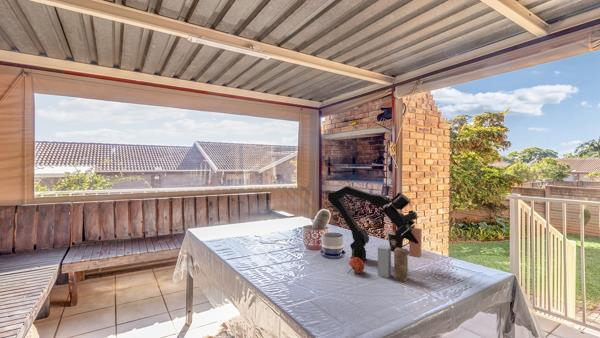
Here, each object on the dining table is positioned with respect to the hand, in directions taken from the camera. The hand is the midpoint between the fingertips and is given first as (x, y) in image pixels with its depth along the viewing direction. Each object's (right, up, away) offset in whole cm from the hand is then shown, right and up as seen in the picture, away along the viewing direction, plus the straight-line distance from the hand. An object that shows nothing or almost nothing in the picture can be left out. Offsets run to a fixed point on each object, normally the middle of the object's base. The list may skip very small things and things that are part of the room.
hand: (418, 242), depth 130 cm
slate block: (-18, -13, -6) cm, 23 cm away
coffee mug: (+1, -13, +30) cm, 33 cm away
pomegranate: (-30, -13, -3) cm, 33 cm away
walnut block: (-12, -13, -10) cm, 20 cm away
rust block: (-1, -7, +1) cm, 7 cm away
